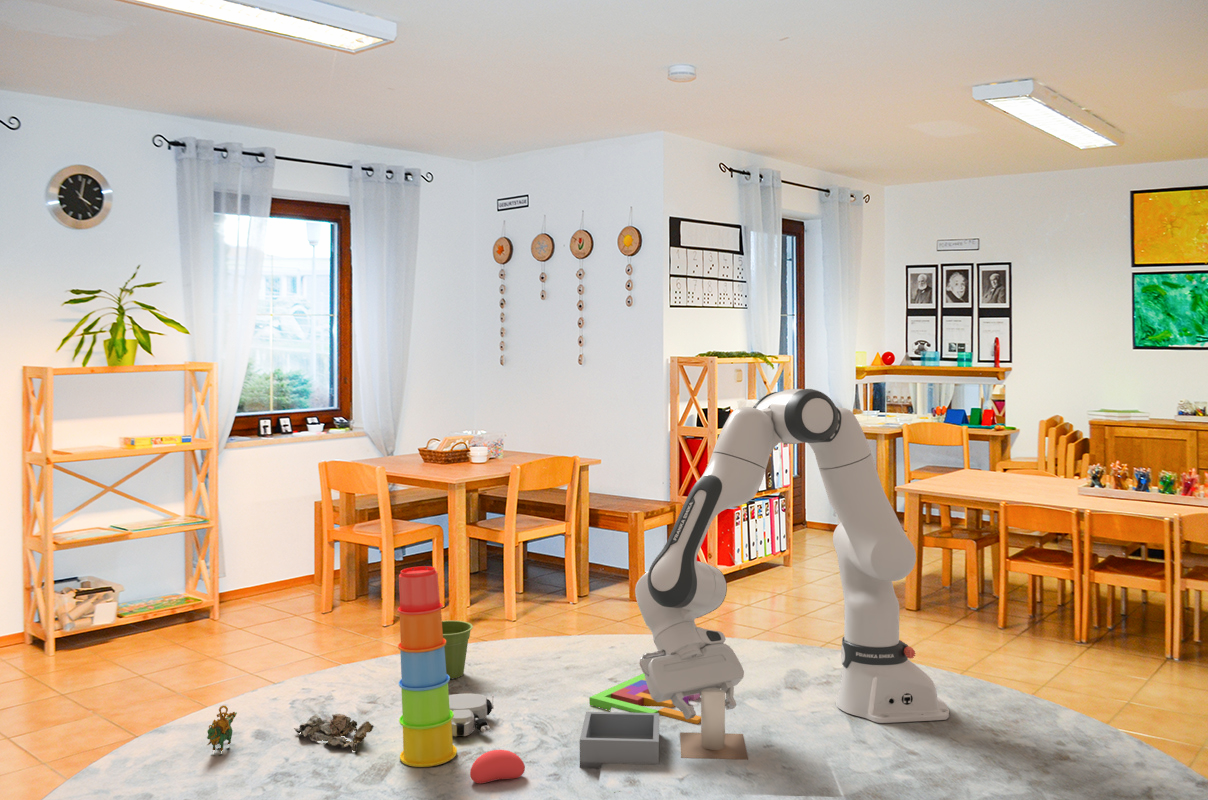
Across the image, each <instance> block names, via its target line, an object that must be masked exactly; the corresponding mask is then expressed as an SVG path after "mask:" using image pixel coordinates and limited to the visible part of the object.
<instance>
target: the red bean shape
mask: <svg viewBox="0 0 1208 800" xmlns="http://www.w3.org/2000/svg"><path fill="white" fill-rule="evenodd" d="M525 769H526V765H525V763H524V761H523V760H522V758H521V757H520V756H519V755H517V754H516V752H515V753H514V752H512V751H510V750H506V749H492V750H490V751H487V752H484V753H482V754H481V755H480V756H478V757H477V758H476V759H475V760H474V762H473V763H472V765H471V767H470V772H469V777H470V779H471V780H472V781H473V782H474V783H476V784H485V783H490V782H494V781H496V780H515V779H519V778H520V777H522V776H523V775H524V773H525Z"/></svg>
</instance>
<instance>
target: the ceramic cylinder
mask: <svg viewBox="0 0 1208 800" xmlns="http://www.w3.org/2000/svg"><path fill="white" fill-rule="evenodd" d="M700 695H701V696H700V701H701V703H700V704H701V705H700V707H701V708H700V716H701V722H700V733H701V746H702V747H703V748H705V749H708V750H720V749H723V748H724V747H725V733H726V708H725V699H726V693H725V691H723V690H721V689H717V688H707V689H703V690H702V691H701V694H700Z"/></svg>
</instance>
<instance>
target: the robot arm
mask: <svg viewBox="0 0 1208 800" xmlns="http://www.w3.org/2000/svg"><path fill="white" fill-rule="evenodd" d="M715 442H716V443H715V445H714V448H713V451H712V453H711V456H710V459H709V461H708V465H707V466H706V467H705V470H704V472H703V474H702V475H701V477H700V478H699V479H698V480H697V481H696V482H695V483H694V485H693V486H692V487H691V489H690V491H689V493H688V496H687V497H686V499H685V501H684V504H683V505H682V508H681V510H680V512H679V514H678V516H677V519H676V521H675V523H674V526H673V528H672V530H671V532H670V535H669V537H668V539H667V541H666V543H665V545H664V546H663V548H662V549H661V551H660V552H659V554H658V555H657V556H656V557H655V558H654V560H653V562H652V563H651V565H650V567H649V570H648V571H646V572H645V573H644V574H643V575H641V577H640V578H639V579H638V580H637V582H636V584H635V589H634V593H635V599H636V603H637V606H638V608H639V611H640V614H641V616H642V618H643V619H642V620H643V621H644V624H645V625H646V627H647V628H648V629H649V630H650V631H651V633H652V638H653V639H652V640H653V643H654V645H655V647H656V650H657V651H653V652H646V653H644V654H642V657H640V659H639V666H640V669H641V671H642V674H643V673H644V674H645V679H646V683H647V686H648V689H649V692H650V695H651V697H652V699H654V700H655V701H656V702H662V701H667V700H671V701H672V703H673V705H674V706H676V707H675V708H677V709H678V711H681V712H683V714H684V717H685V719H691V718H694V716H695V715H697V712H696V710H695V708H694V705H689V703H688V704H687V703H686V702H685V701H684V700H683V698H684V697H685V696H690V695H694V694H699V693H701V691H702V690H703V689H707V688H717V689H721V690H723V691H725V710H726V711H728V710H733V709H735V708H736V706H737V702H736V700H735V697H734V693H735V690H734V689H735V686H737V685H738V684H740V682H742V680H743V679H744V676H745V675H744V674H745V671H744V669H743V666H742V663H741V662H740V660H739V658H738V657H737V655H736V653H735V651H734V650H733V649H732V647H731V646H729V645H728V644H727V643H725V642H726V636H725V634H724V633H723V632H722V631H718V630H714V629H708V628H703V627H699V626H697V625H696V623H695V620H696V619H699V618H701V617H703V616H706V615H708V614H710V613H712V612H714V611H716V610H718V608H719V607H721V605H722V604H723V603H724V601H725V599H726V596H727V591H728V586H727V585H728V584H727V580H726V578H725V575H724V573H723V572H722V571H721V570H720V569H719V568H717V566H716V567H715V566H713V565H711V564H708V563H705V562H702V561H698V559H697V558H698V554H699V552H700V549H701V547H702V545H703V543H704V541H705V538H706V535H707V533H708V530H709V528H710V527H711V525H712V522H713V521H714V519H715V518H716V517H717V516H718V515H719V514H720V513H721V512H723V511H725V510H727V509H730V508H735V507H738V506H742V505H744V504H745V505H746V503H748V502H750V501H751V500H753V499H754V498H755V496H756V494H758V491H759V489H760V487H761V486H762V482H763V481H764V480H763V479H764V476H765V475H766V474H765V473H766V470H767V467H768V464H769V459H770V456H771V454H772V452H774V451H773V450H774V449H775V448H776V446H777V445H778V444H785V445H786V444H788V445H797V444H801V443H802V444H803V443H804V444H805V443H806V444H808V445H809V446H810V448H811V449H812V452H813V453H814V457H815V460H816V463H817V467H818V470H819V473H820V477H821V479H822V482H823V487H824V489H825V492H826V495H827V498H828V501H829V504H830V505H831V507H832V509H833V510H834V512H835V513H836V516H837V518H838V519H839V521H840V523H838V525H837V526H836V527H835V529H834V531H833V535H832V543H833V547H834V550H835V553H836V557H837V563H838V569H839V575H840V580H841V581H840V582H841V587H842V594H843V603H844V604H843V606H844V611H843V612H844V614H843V615H844V624H843V625H844V626H843V628H844V629H843V630H844V631H843V632H844V633H843V634H844V635H843V637H842V639H841V647H840V648H841V655H840V657H841V664H842V672H841V678H840V685H839V690H838V694H837V697H836V700H835V705H836V707H837V708H838V709H839V710H840V711H843V712H844V713H847V714H848V715H853V716H856V717H859V718H860V717H861V718H863V719H867V720H870V721H872V722H874V723H878V724H889V723H909V722H929V721H930V722H931V721H946V720H947V719H949V718H950V708H949V706H948V705H947V704H946V702H945V701H944V700H942V699H941V698H940V697H939V696H938V693H937V687H936V685H935V683H934V680H933V679H932V678H931V677H930V676H929V675H928V674H927V673H926V672H925V671H924V670H923V669H921V668H920V667H919V666H918V665H916V664H915V663H914V662H912V661H911V660H910V659H913V658H915V657H916V651H915V650H914V648H913V647H911V646H909V645H908V644H907V643H905V642H904V641H903V640H901V639H900V602H899V599H898V597H897V595H896V592H895V588H894V583H893V582H898V581H900V580H903V579H904V578H907V577H908V576H909V575H910V574H911V572H912V571H913V570H914V568H915V565H916V561H917V554H916V548H915V547H914V544H913V543H912V541H911V540H910V539H909V537H908V536H907V535H906V533H905V531H904V529H903V526H902V525H901V523H900V520H899V518H898V516H897V514H896V512H895V510H894V508H893V506H892V505H891V503H890V501H889V499H888V496H887V495H886V493H885V490H884V488H883V486H882V482H881V479H880V476H879V474H878V470H877V467H876V463H875V461H874V458H873V454H872V452H871V448H870V445H869V442H868V440H867V437H866V435H865V433H864V430H863V429H862V427H861V424H860V422H859V421H858V419H857V417H856V416H855V414H854V413H853V412H852V411H851V410H850V409H848V408H845V407H842V406H841V407H839V406H836V405H835V403H834V401H833V400H832V399H831V398H830V397H829V396H828V395H827V394H825V393H824V392H822V391H820V390H817V389H812V388H804V389H802V388H790V389H785V390H782V391H774V392H770V393H768V394H766V395H764V396H763V397H761V398H760V399H759V400H758V401H757V402H756V403H755V405H753V406H743V407H738V408H736V409H734V410H733V411H732V412H731V413H729V415H728V417H727V419H726V421H725V423H724V424H723V426H722V429H721V431H720V433H719V435H718V437H717V439H716V441H715Z"/></svg>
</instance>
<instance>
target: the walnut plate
mask: <svg viewBox="0 0 1208 800" xmlns="http://www.w3.org/2000/svg"><path fill="white" fill-rule="evenodd" d="M679 740H680V744H679V745H680V758H681V759H705V760H706V759H707V760H709V759H710V760H711V759H713V760H715V759H716V760H747V761H748V760H749V757H748V756H749V755H748V752H747V746H746V742H745V737H744V734H743V733H726V732H725V747H724V748H723V749H720V750H708V749H705V748H703V747H702V746H701V732H681V731H680V732H679Z"/></svg>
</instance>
